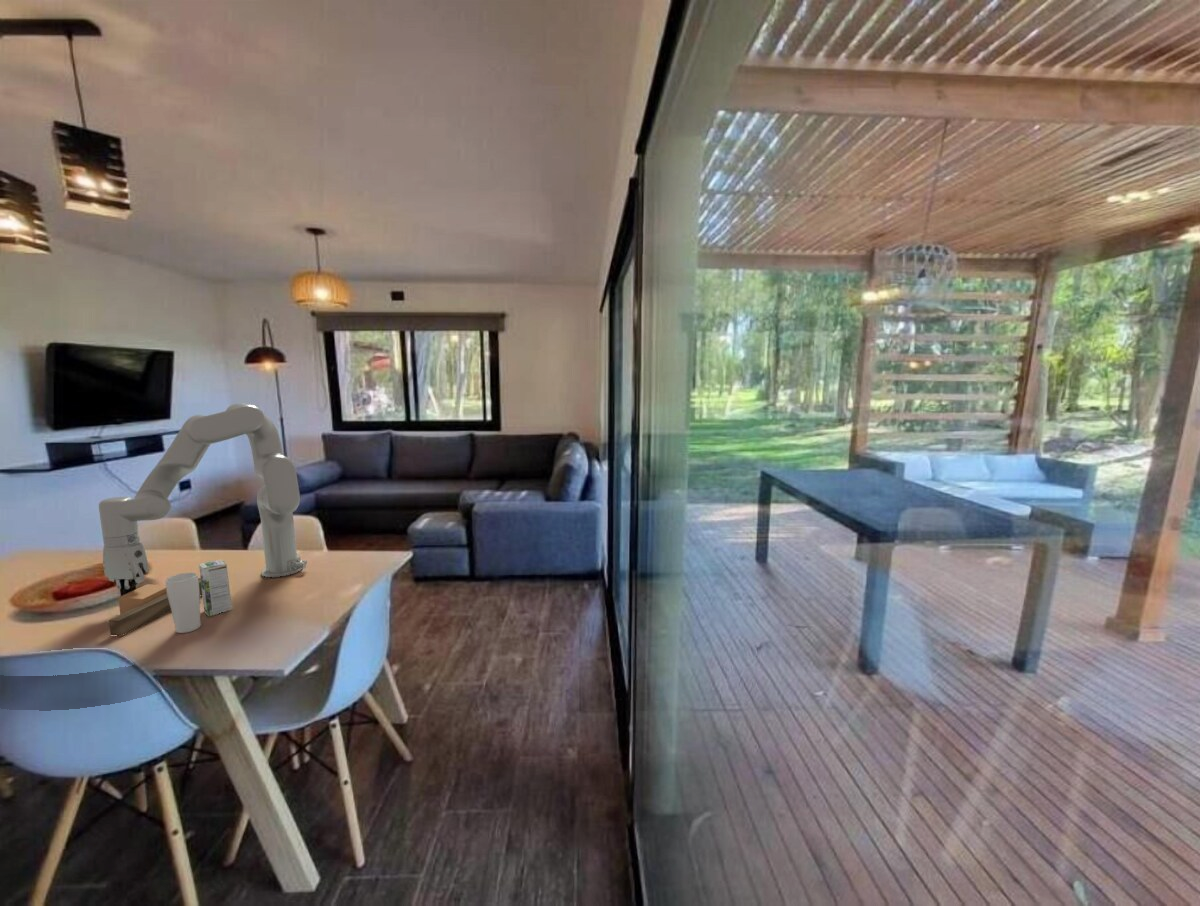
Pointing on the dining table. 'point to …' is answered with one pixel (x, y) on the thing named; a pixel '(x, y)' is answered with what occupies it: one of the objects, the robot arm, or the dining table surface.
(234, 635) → the dining table surface
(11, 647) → the dining table surface
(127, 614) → the walnut board
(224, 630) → the dining table surface
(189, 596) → the drinking glass
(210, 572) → the syrup box
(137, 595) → the tan block
